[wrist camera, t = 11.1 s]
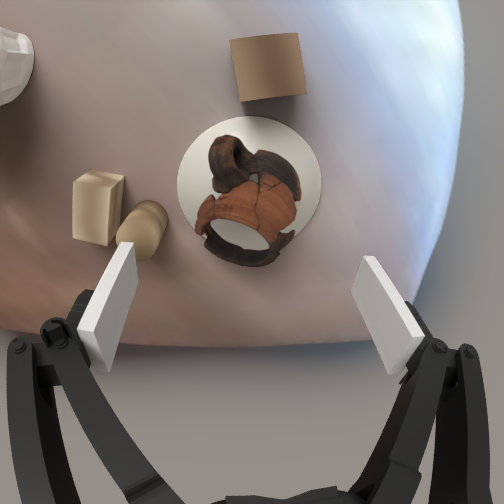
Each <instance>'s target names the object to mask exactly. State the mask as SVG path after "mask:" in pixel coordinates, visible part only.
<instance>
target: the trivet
mask: <svg viewBox="0 0 504 504" xmlns="http://www.w3.org/2000/svg"><path fill="white" fill-rule="evenodd" d="M223 135H232V136H235V137H238V138H239V139H240V140H241V141H242V142H243V144H244V146H245V147H246V148H247V149H248V150H249V151H250V152H252V153H253V155H254V154H255V153H256V152H257V150H259V149H260V150H266V151H270V152H274V153H276V154H278V155H280V156H281V157H283V158H284V159H286V160H287V161H288V162H289V163H290V164H291V165H292V166H293V167H294V169H295V170H296V172H297V174H298V176H299V180H300V187H301V192H302V194H301V200H300V201H296V202H295V206H296V208H297V213H296V216H295V220H294V221H293V222H292V223H291V224H290V225H289V226H287V227H286V228H285V229H283V230H281V231H280V232H282V233H289V232H290V231H291V230H295V234H294V236H295V235H297V234H298V233H299V232H300V231H301V230H302V229H303V228H304V227H305V226H306V225H307V223H308V222H309V221H310V219H311V218H312V216H313V214H314V213H315V210H316V208H317V206H318V203H319V199H320V194H321V173H320V168H319V164H318V161H317V159H316V157H315V154H314V152H313V151H312V149H311V148H310V146H309V145H308V144H307V142H306V141H305V140H304V139H303V138H302V137H301V136H300V135H299V134H298V133H296V132H295V131H294V130H293V129H291V128H290V127H288V126H286V125H284V124H282V123H280V122H278V121H275V120H272V119H269V118H264V117H258V116H243V117H235V118H231V119H227V120H225V121H222V122H219V123H217V124H215V125H214V126H212V127H210V128H208V129H207V130H206V131H204V132H203V133H202V134H201V135H200V136H199V137H198V138H196V139H195V140H194V142H193V143H192V144H191V146H190V147H189V148H188V150H187V151H186V153H185V155H184V157H183V159H182V162H181V164H180V167H179V172H178V177H177V194H178V199H179V203H180V206H181V209H182V211H183V213H184V215H185V217H186V219H187V220H188V222H189V223H190V224H191V226H192V227H193V228H194V229H195V223H196V220H197V212H198V210H199V208H200V205H201V204H202V203H203V202H204V200H205V199H206V198H207V197H208V196H209V195H210V194H212V195H214V197H215V199H218V198H219V196H221V194H222V193H217V192H215V191H214V190H213V188H212V178H213V174H212V172H211V170H210V166H209V162H208V153H209V149H210V147H211V145H212V143H213V142H214V140H215V138H216V137H220V136H223ZM249 179H250V180H253V181H255V182H256V183H258V175H257V174H256V173H255V174H252V175H250V178H249ZM211 227H212V228H213V229H214V230H215V231H216V232H217V233H218V234H219V235H220V236H221V237H222V238H223V239H224V240H226V241H228V242H230V243H232V244H235V245H238V246H240V247H242V248H243V249H253V250H265V249H268V248H269V244H268V243H267V241H266V240H265V239H264V238H263V237H262V236H261V235H260V234H259V233H258V232H257V231H256V230H254V229H252V228H250V227H248V226H247V225H244V224H241V223H239V222H235V221H231V220H225V219H216V220H213V221H211ZM201 236H203V237H204V238H206V239H207V236H206V235H205V233H204V234H203V235H201Z"/></svg>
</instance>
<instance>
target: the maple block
mask: <svg viewBox="0 0 504 504" xmlns="http://www.w3.org/2000/svg"><path fill="white" fill-rule="evenodd" d="M124 178H125V176H122V175H117V174H111V173H106V172H101V171H95V170H89V171H88V172H86V173H85V174H84V175H82V176H81V177H79V178H78V179H77V180H75V181H74V182H73V238H75V239H79V240H83V241H88V242H92V243H96V244H100V245H104V246H108V244H109V243H110V241H111V240H112V238H113V237H114V236H115V234H116V233H117V231H118V229H119V228H120V217H121V205H122V195H123V186H124Z"/></svg>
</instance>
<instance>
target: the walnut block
mask: <svg viewBox="0 0 504 504" xmlns="http://www.w3.org/2000/svg"><path fill="white" fill-rule="evenodd" d="M229 42H230V48H231V53H232V59H233V65H234V70H235V76H236V82H237V87H238V93H239V99H240V102H243V101H250V100H257V99H264V98H272V97H280V96H290V95H300V94H307V91H306V83H305V76H304V69H303V63H302V56H301V50H300V44H299V38H298V33H283V34H271V35H262V36H253V37H246V38H238V39H232V40H229Z"/></svg>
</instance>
